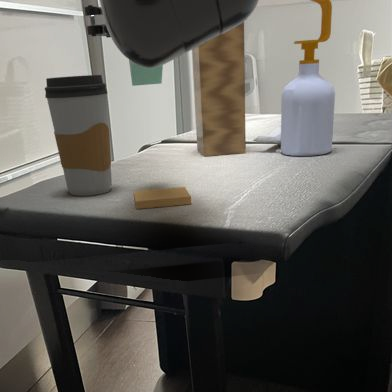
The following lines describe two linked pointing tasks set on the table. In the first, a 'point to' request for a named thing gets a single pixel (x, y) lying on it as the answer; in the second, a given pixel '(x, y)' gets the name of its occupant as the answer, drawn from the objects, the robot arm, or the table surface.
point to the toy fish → (271, 137)
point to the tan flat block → (161, 197)
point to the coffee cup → (81, 132)
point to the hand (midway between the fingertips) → (145, 23)
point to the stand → (220, 94)
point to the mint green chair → (145, 74)
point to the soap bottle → (309, 101)
